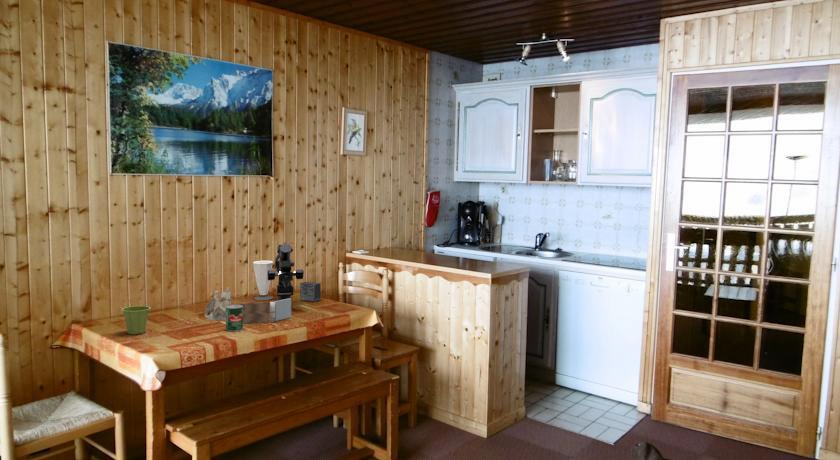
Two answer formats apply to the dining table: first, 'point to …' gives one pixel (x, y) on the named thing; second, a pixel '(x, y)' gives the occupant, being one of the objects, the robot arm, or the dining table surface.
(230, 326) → the canned tomato
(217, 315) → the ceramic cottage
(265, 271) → the cup
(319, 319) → the dining table surface
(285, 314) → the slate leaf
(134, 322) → the plant pot
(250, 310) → the walnut leaf
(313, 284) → the small box
